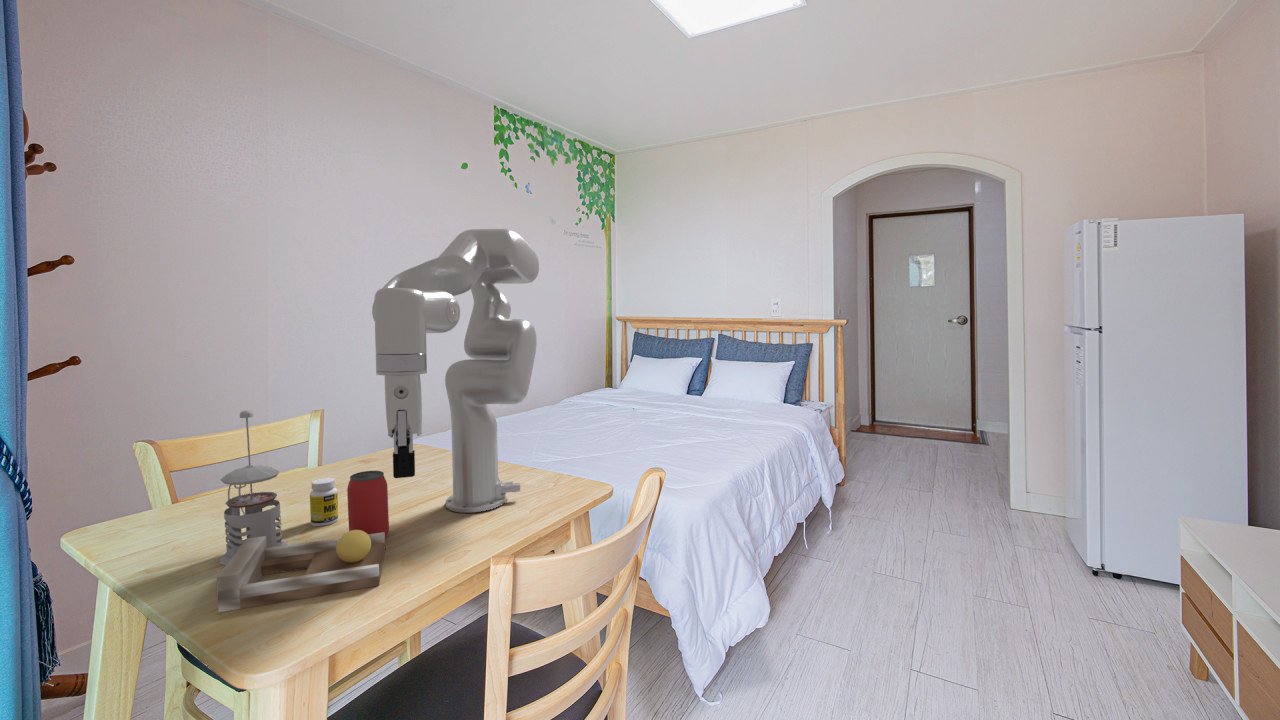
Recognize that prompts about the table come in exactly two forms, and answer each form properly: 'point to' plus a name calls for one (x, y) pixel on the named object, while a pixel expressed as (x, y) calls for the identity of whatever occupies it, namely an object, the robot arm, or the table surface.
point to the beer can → (368, 502)
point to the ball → (353, 546)
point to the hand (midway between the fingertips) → (404, 475)
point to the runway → (320, 578)
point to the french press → (251, 507)
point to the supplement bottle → (323, 502)
